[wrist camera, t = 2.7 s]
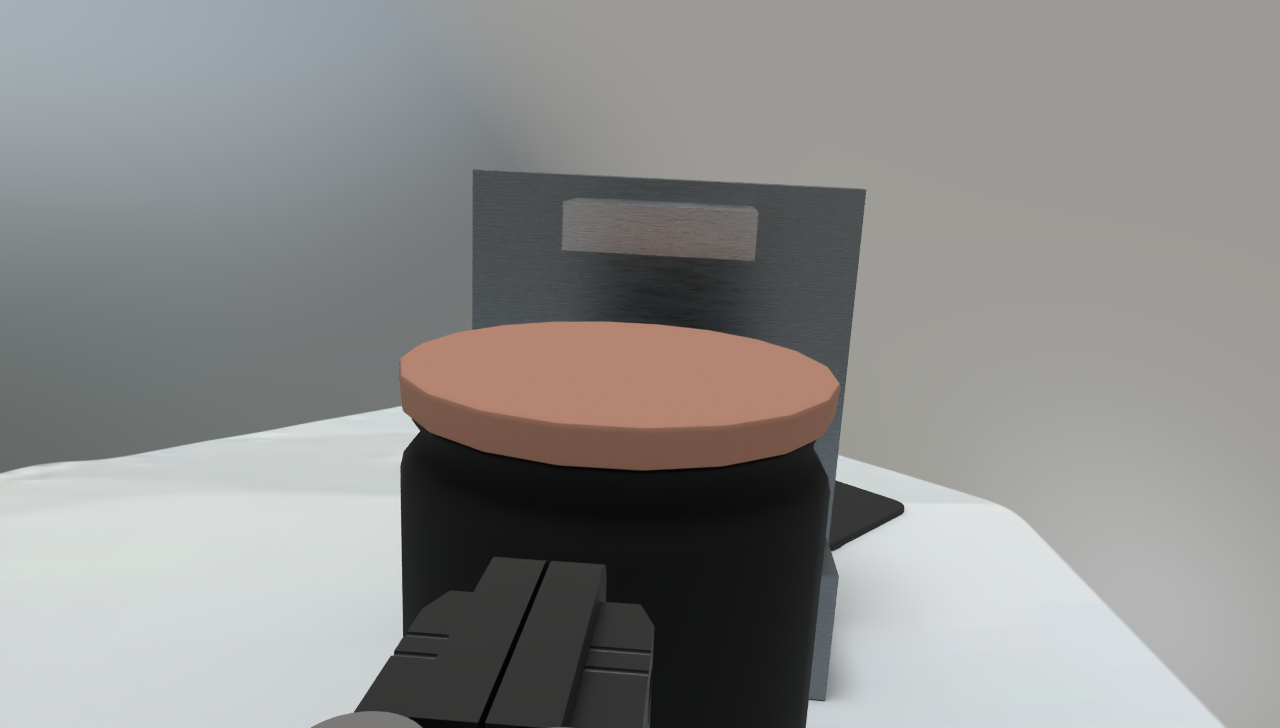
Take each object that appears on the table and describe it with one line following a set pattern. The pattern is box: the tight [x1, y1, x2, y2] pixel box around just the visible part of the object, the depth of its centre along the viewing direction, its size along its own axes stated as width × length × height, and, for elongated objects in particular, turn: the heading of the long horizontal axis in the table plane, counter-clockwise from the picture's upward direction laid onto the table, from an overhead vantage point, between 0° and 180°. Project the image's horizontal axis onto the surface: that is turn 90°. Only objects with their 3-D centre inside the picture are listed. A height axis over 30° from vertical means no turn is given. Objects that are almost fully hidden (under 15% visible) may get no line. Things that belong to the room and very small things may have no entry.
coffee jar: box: [399, 322, 841, 728], centre depth 23 cm, size 11×11×18 cm
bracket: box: [472, 170, 866, 700], centre depth 40 cm, size 8×18×22 cm, turn 86°
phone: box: [828, 481, 904, 551], centre depth 57 cm, size 7×1×15 cm
